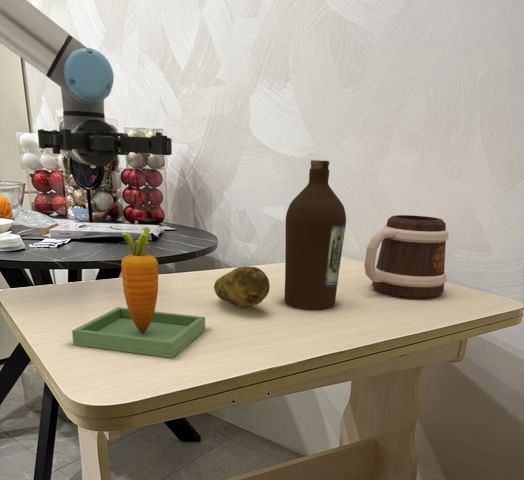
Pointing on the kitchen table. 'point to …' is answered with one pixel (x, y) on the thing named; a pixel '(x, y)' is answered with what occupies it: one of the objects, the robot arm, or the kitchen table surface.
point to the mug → (408, 257)
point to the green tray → (132, 340)
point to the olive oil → (314, 243)
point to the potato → (243, 286)
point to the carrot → (140, 281)
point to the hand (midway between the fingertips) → (118, 142)
